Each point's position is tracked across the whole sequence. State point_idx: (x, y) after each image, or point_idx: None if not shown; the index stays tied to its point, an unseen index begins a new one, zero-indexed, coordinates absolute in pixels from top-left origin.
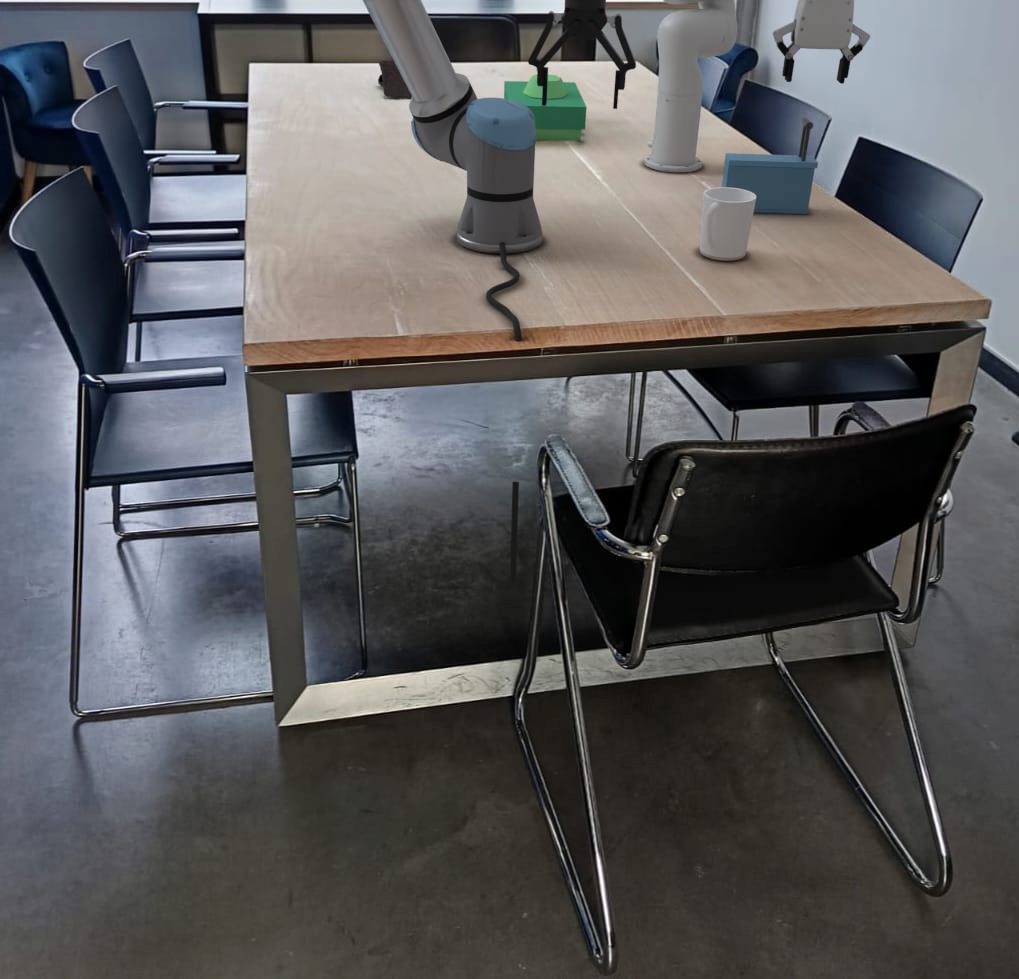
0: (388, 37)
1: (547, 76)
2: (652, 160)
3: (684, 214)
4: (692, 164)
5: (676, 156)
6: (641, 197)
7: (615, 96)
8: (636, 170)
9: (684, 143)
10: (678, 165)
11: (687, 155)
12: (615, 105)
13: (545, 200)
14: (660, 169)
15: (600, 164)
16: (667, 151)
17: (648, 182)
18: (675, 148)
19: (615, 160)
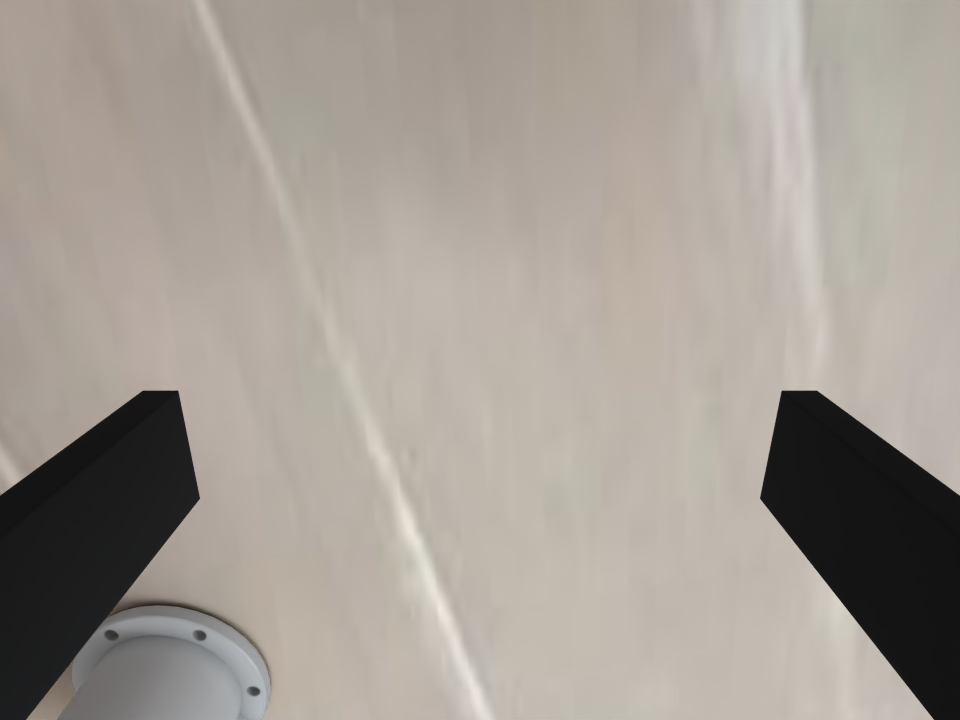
0: None
1: (939, 633)
2: (237, 677)
3: (14, 112)
4: (97, 656)
5: (132, 662)
6: (225, 317)
7: (100, 444)
8: (288, 614)
9: (79, 708)
10: (139, 637)
11: (94, 675)
12: (143, 402)
13: (595, 215)
14: (203, 616)
15: (412, 655)
16: (159, 679)
17: (228, 497)
18: (122, 687)
19: (368, 698)
